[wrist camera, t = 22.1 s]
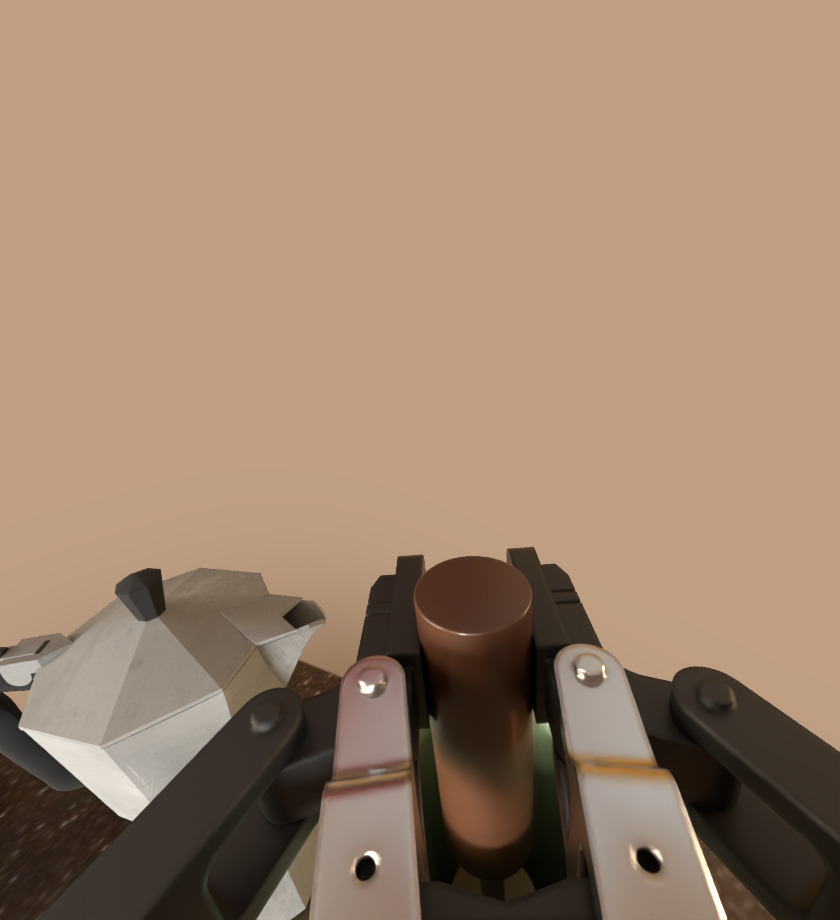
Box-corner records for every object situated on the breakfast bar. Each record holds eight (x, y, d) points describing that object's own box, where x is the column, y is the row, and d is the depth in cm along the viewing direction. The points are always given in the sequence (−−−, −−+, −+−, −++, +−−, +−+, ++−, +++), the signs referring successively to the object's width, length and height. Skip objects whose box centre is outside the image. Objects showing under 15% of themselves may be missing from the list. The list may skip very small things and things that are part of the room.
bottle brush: (520, 928, 17) (509, 540, 10) (554, 1040, 15) (570, 621, 8) (452, 952, 17) (394, 564, 10) (475, 1072, 14) (418, 658, 7)
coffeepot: (370, 738, 28) (317, 496, 22) (376, 936, 20) (291, 634, 13) (126, 788, 27) (-12, 546, 20) (17, 1023, 18) (-286, 738, 12)
